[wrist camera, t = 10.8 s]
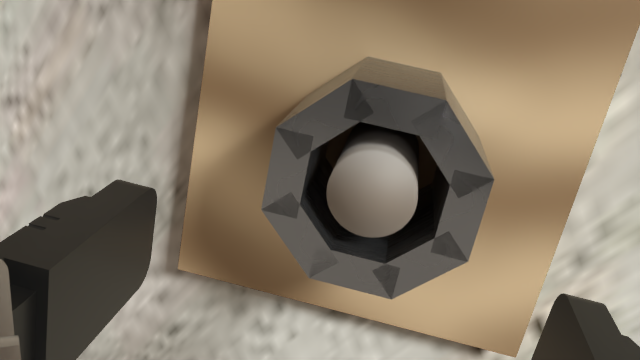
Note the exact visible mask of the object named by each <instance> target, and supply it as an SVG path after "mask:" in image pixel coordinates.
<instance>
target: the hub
mask: <svg viewBox="0 0 640 360" xmlns="http://www.w3.org/2000/svg"><path fill="white" fill-rule="evenodd" d="M358 122H364V123H368V124H372V125H377V126H381V127H385V128H389V129H394V130H398V131H402V132H406V133H411V134H415V135H419V136H420V138H421V139H422V141H423V142H424V144H425V146H426V147H427V149H428V150H429V152H430V154H431V155H432V157H433V158H434V160H435V162H436V163H437V166H436V170H435V173H434V177H433V180H432V183H431V184H429V185H427V186H425V187H423V188H421V189H420V190H418V201H417V206H416V209H415V212H414V214H413V216H412V218H411V219H410V220H409V222H408V223H407V224H406V225H405V226H404V227H403V228H401V229H400V230H398V231H397V232H395V233H393V234H391V235H387V236H384V237H376V238H371V237H363V236H359V235H356V234H354V233H352V232H350V231H348V230H347V229H345V228H344V227H343V226H341V225H340V224H339V223H338V222H337V220H336V219H335V218H334V216H333V215H332V213H331V211H330V209H329V206H328V202H327V184H328V181H329V178H330V176H331V174H332V171H333V168H332V166H331V165H330V163H329V162H328V160H327V159H326V152H327V148H328V143H329V140H331V139H332V138H334V137H335V136H337V135H339V134H340V133H342V132H344V131H345V130H347V129H349V128H350V127H352V126H354V125H355V124H357V123H358ZM493 182H494V176H493V174H492V171H491V168H490V166H489V163H488V160H487V157H486V155H485V152H484V149H483V146H482V144H481V141H480V138H479V135H478V134H477V132H476V130H475V129H474V127H473V125H472V124H471V122H470V120H469V119H468V117H467V115H466V114H465V112H464V110H463V109H462V107H461V105H460V104H459V102H458V100H457V99H456V97H455V95H454V94H453V92H452V90H451V89H450V87H449V85H448V84H447V82H446V80H445V79H444V77H443V75H442V74H441V73H440V72H435V71H431V70H427V69H422V68H418V67H413V66H409V65H404V64H400V63H395V62H391V61H386V60H382V59H377V58H373V57H369V56H368V57H366V58H365V59H363V60H361V61H360V62H358V63H357V64H355V65H354V66H352V67H351V68H349V69H347V70H346V71H344V72H343V73H341V74H340V75H338V76H337V77H335V78H334V79H332V80H330V81H329V82H327V83H326V84H324V85H323V86H321V87H320V88H318V89H316V90H315V91H313V92H312V93H310V94H309V95H307V96H306V97H305V98H304V99H303V100H302V101H301V102H300V103H299V104H298V105H297V106H296V107H295V108H294V109H293V110H292V111H291V112H290V113H289V114H288V115H287V116H286V117H285V118H284V119H283V120H282V122H281V123H280V124H279V125H278V126H277V127H276V129H275V135H274V140H273V146H272V152H271V157H270V163H269V168H268V174H267V180H266V185H265V191H264V196H263V202H262V208H261V210H262V212H263V213H264V215H265V216H266V218H267V219H268V220H269V222H270V223H271V225H272V226H273V228H274V229H275V230H276V232H277V233H278V235H279V236H280V238H281V239H282V240H283V242H284V243H285V245H286V246H287V248H288V249H289V250H290V252H291V253H292V255H293V256H294V258H295V259H296V261H297V262H298V263H299V265H300V266H301V268H302V269H303V271H304V272H305V273H306V275H307V276H308V278H310V279H314V280H318V281H322V282H326V283H329V284H333V285H337V286H341V287H345V288H349V289H353V290H356V291H360V292H364V293H368V294H372V295H376V296H380V297H384V298H387V299H391V300H392V299H394V298H396V297H398V296H400V295H402V294H404V293H406V292H408V291H410V290H412V289H414V288H416V287H418V286H420V285H422V284H424V283H426V282H428V281H430V280H432V279H434V278H436V277H438V276H440V275H442V274H444V273H446V272H448V271H450V270H452V269H454V268H456V267H458V266H461V265H463V264H465V263H467V262H468V261H469V258H470V255H471V251H472V248H473V245H474V242H475V239H476V236H477V233H478V229H479V226H480V223H481V220H482V217H483V214H484V211H485V208H486V204H487V201H488V198H489V195H490V192H491V189H492V186H493Z"/></svg>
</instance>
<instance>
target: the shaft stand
mask: <svg viewBox="0 0 640 360" xmlns="http://www.w3.org/2000/svg"><path fill="white" fill-rule="evenodd" d="M639 25H640V0H212V8H211V15H210V23H209V31H208V39H207V46H206V54H205V62H204V69H203V77H202V85H201V93H200V100H199V108H198V116H197V123H196V131H195V139H194V147H193V154H192V162H191V170H190V177H189V185H188V193H187V201H186V208H185V216H184V224H183V231H182V239H181V247H180V255H179V262H178V269H179V270H183V271H187V272H191V273H195V274H198V275H202V276H206V277H210V278H214V279H218V280H221V281H225V282H229V283H233V284H237V285H241V286H244V287H248V288H252V289H256V290H260V291H263V292H267V293H271V294H275V295H279V296H283V297H286V298H290V299H294V300H298V301H302V302H305V303H309V304H313V305H317V306H321V307H325V308H328V309H332V310H336V311H340V312H344V313H348V314H351V315H355V316H359V317H363V318H367V319H370V320H374V321H378V322H382V323H386V324H390V325H393V326H397V327H401V328H405V329H409V330H413V331H416V332H420V333H424V334H428V335H432V336H435V337H439V338H443V339H447V340H451V341H455V342H458V343H462V344H466V345H470V346H474V347H477V348H481V349H485V350H489V351H493V352H497V353H500V354H504V355H508V356H512V357H516V356H517V353H518V350H519V348H520V345H521V342H522V340H523V337H524V334H525V331H526V329H527V326H528V323H529V321H530V318H531V315H532V313H533V310H534V307H535V305H536V302H537V299H538V297H539V294H540V291H541V288H542V286H543V283H544V280H545V278H546V275H547V272H548V270H549V267H550V264H551V262H552V259H553V256H554V254H555V251H556V248H557V245H558V243H559V240H560V237H561V235H562V232H563V229H564V227H565V224H566V221H567V219H568V216H569V213H570V210H571V208H572V205H573V202H574V200H575V197H576V194H577V192H578V189H579V186H580V184H581V181H582V178H583V176H584V173H585V170H586V167H587V165H588V162H589V159H590V157H591V154H592V151H593V149H594V146H595V143H596V141H597V138H598V135H599V133H600V130H601V127H602V124H603V122H604V119H605V116H606V114H607V111H608V108H609V106H610V103H611V100H612V98H613V95H614V92H615V90H616V87H617V84H618V81H619V79H620V76H621V73H622V71H623V68H624V65H625V63H626V60H627V57H628V55H629V52H630V49H631V47H632V44H633V41H634V38H635V36H636V33H637V30H638V28H639ZM368 56H369V57H373V58H377V59H382V60H386V61H391V62H395V63H400V64H404V65H409V66H413V67H418V68H422V69H427V70H431V71H435V72H440V73H441V74H442V75H443V77H444V79H445V80H446V82H447V84H448V85H449V87H450V89H451V90H452V92H453V94H454V95H455V97H456V99H457V100H458V102H459V104H460V105H461V107H462V109H463V110H464V112H465V114H466V115H467V117H468V119H469V120H470V122H471V124H472V125H473V127H474V129H475V130H476V132H477V134H478V135H479V138H480V141H481V144H482V146H483V149H484V152H485V155H486V157H487V160H488V163H489V166H490V168H491V171H492V174H493V176H494V182H493V186H492V189H491V192H490V195H489V198H488V201H487V204H486V208H485V211H484V214H483V217H482V220H481V223H480V226H479V229H478V233H477V236H476V239H475V242H474V245H473V248H472V251H471V255H470V258H469V261H468V262H467V263H465V264H463V265H461V266H458V267H456V268H454V269H452V270H450V271H448V272H446V273H444V274H442V275H440V276H438V277H436V278H434V279H432V280H430V281H428V282H426V283H424V284H422V285H420V286H418V287H416V288H414V289H412V290H410V291H408V292H406V293H404V294H402V295H400V296H398V297H396V298H394V299H392V300H391V299H387V298H384V297H380V296H376V295H372V294H368V293H364V292H360V291H356V290H353V289H349V288H345V287H341V286H337V285H333V284H329V283H326V282H322V281H318V280H314V279H310V278H308V276H307V275H306V273H305V272H304V271H303V269H302V268H301V266H300V265H299V263H298V262H297V261H296V259H295V258H294V256H293V255H292V253H291V252H290V250H289V249H288V248H287V246H286V245H285V243H284V242H283V240H282V239H281V238H280V236H279V235H278V233H277V232H276V230H275V229H274V228H273V226H272V225H271V223H270V222H269V220H268V219H267V218H266V216H265V215H264V213H263V212H262V210H261V208H262V202H263V196H264V191H265V185H266V180H267V174H268V168H269V163H270V157H271V152H272V146H273V140H274V135H275V129H276V127H277V126H278V125H279V124H280V123H281V122H282V120H283V119H284V118H285V117H286V116H287V115H288V114H289V113H290V112H291V111H292V110H293V109H294V108H295V107H296V106H297V105H298V104H299V103H300V102H301V101H302V100H303V99H304V98H305V97H306V96H307V95H309V94H310V93H312V92H313V91H315V90H316V89H318V88H320V87H321V86H323V85H324V84H326V83H327V82H329V81H330V80H332V79H334V78H335V77H337V76H338V75H340V74H341V73H343V72H344V71H346V70H347V69H349V68H351V67H352V66H354V65H355V64H357V63H358V62H360V61H361V60H363V59H365V58H366V57H368ZM326 159H327V160H328V162H329V163H330V165H331V166H332V168H333V171H332V174H331V176H330V178H329V181H328V184H327V202H328V206H329V209H330V211H331V213H332V215H333V216H334V218H335V219H336V220H337V222H338V223H339V224H340V225H341V226H343V227H344V228H345V229H347V230H348V231H350V232H352V233H354V234H356V235H359V236H363V237H371V238H376V237H384V236H387V235H391V234H393V233H395V232H397V231H398V230H400V229H401V228H403V227H404V226H405V225H406V224H407V223H408V222H409V220H410V219H411V218H412V216H413V214H414V212H415V209H416V206H417V201H418V190H420V189H421V188H423V187H425V186H427V185H429V184H431V183H432V180H433V177H434V173H435V170H436V166H437V163H436V162H435V160H434V158H433V157H432V155H431V154H430V152H429V150H428V149H427V147H426V146H425V144H424V142H423V141H422V139H421V138H420V136H419V135H415V134H411V133H406V132H402V131H398V130H394V129H389V128H385V127H381V126H377V125H372V124H368V123H364V122H358V123H357V124H355V125H354V126H352V127H350V128H349V129H347V130H345V131H344V132H342V133H340V134H339V135H337V136H335V137H334V138H332V139H331V140H329V143H328V148H327V152H326Z"/></svg>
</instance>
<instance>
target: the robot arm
mask: <svg viewBox="0 0 640 360" xmlns="http://www.w3.org/2000/svg"><path fill="white" fill-rule="evenodd" d="M156 205H157V194H156V191H155V189H153V188H149V187H145V186H142V185H138V184H134V183H130V182H126V181H122V180H115V181H114V182H112V183H111V184H109V185H108V186H106V187H105V188H104V189H102V190H101V191H99V192H98V193H96V194H95V195H93V196H92V197H88V196H83V197H80V198H76V199H73V200H69V201H66V202H62V203H60V204H58V205H57V206H55V207H54V208H52V209H51V210H49V211H48V212H46V213H45V214H44V215H43V217H41V216H40V217H38V218H37V219H35V220H34V221H32V222H31V223H29V226H25V227H23V228H21V229H20V230H18V231H17V232H15V233H14V234H12V235H11V236H9V237H8V238H6V239H5V240H3V241H1V242H0V360H76V359H77V358H78V357H79V355H80V354H81V353H82V352H83V351H84V350H85V349H86V348H87V346H88V345H89V344H90V343H91V342H92V341H93V340H94V339H95V337H96V336H97V335H98V334H99V333H100V332H101V331H102V329H103V328H104V327H105V326H106V325H107V324H108V323H109V322H110V320H111V319H112V318H113V317H114V316H115V315H116V314H117V313H118V311H119V310H120V309H121V308H122V307H123V306H124V305H125V304H126V302H127V301H128V300H129V299H130V298H131V297H132V296H133V294H134V293H135V292H136V291H137V290H138V289H139V287H140V286H141V284H142V283H143V281H144V279H145V277H146V274H147V271H148V268H149V264H150V259H151V251H152V242H153V233H154V224H155V214H156ZM531 360H640V347H639V346H638V345H637V344H636V343H635V342H634V341H632V340H631V339H630V338H629V337H627V336H624V335H621V333H620V331H619V330H618V328H617V326H616V324H615V322H614V320H613V318H612V317H611V315H610V313H609V311H608V309H607V307H606V306H605V305H604V304H602V303H599V302H595V301H591V300H587V299H583V298H579V297H575V296H571V295H567V294H560V295H559V296H558V297H557V299H556V300H555V302H554V304H553V306H552V309H551V311H550V314H549V316H548V319H547V321H546V324H545V326H544V329H543V332H542V334H541V337H540V339H539V342H538V344H537V347H536V349H535V352H534V354H533V357H532V359H531Z"/></svg>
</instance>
